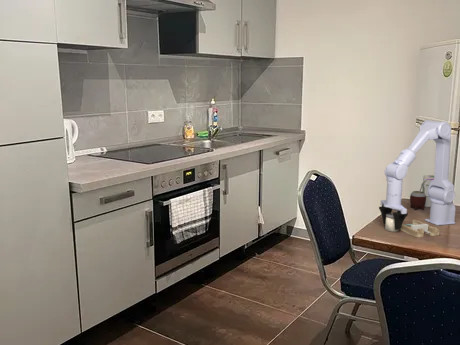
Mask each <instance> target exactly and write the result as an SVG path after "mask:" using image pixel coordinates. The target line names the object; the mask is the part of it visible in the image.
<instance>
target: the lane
mask: <svg viewBox="0 0 460 345" xmlns="http://www.w3.org/2000/svg"><path fill="white" fill-rule="evenodd" d="M419 224H425V223H424V222H422V221H420V220H417V219H412V223H405V224H403V223H402V226H401V229H400V230H399V231H400V232H401V231H402V232H403V233H405V234H408V235H410V236H412V237H414V238H424V235H425V234H424V233H425V232H424V229H417V231H416V230H414V229H412V228H411V225H419ZM428 231H429V232H430V234H429V236H431V237H436V236H440V229H438V227H436V226H431V225H429V224H428Z"/></svg>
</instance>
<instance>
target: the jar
mask: <svg viewBox="0 0 460 345" xmlns="http://www.w3.org/2000/svg"><path fill="white" fill-rule="evenodd" d="M384 225H385V226H384V230H385V231H386V232H392V233H394V232H395V233H397V232H399V230H395V222H394V216H393V212H391V213H387V214H386V223H385V224H384Z"/></svg>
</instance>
